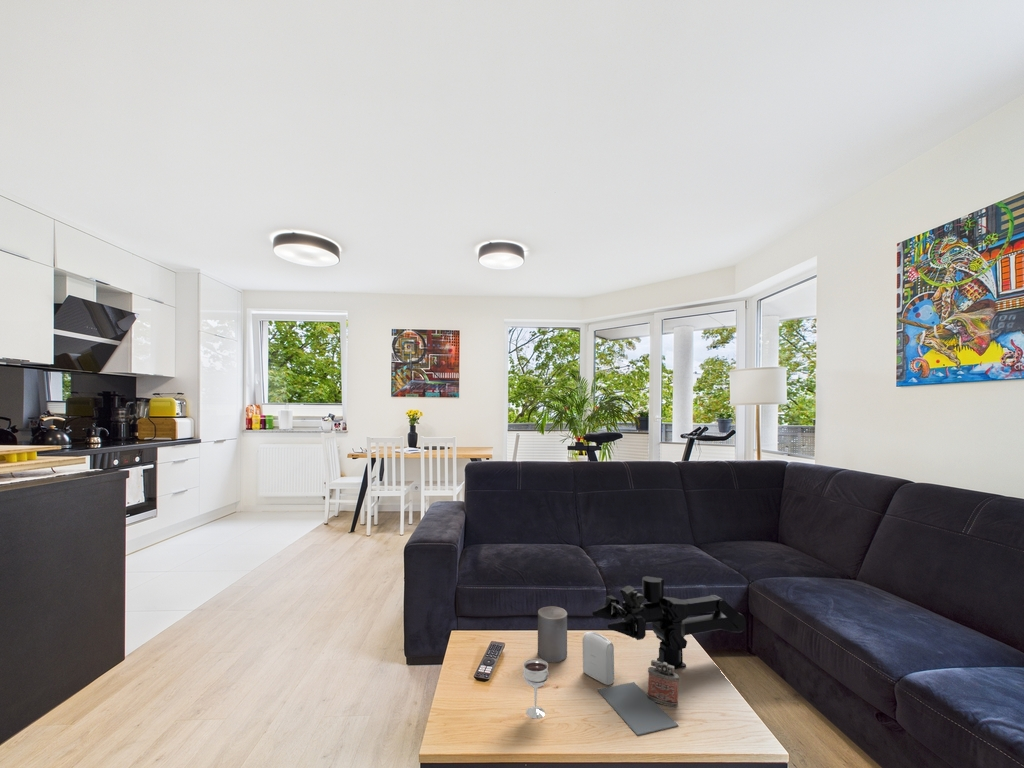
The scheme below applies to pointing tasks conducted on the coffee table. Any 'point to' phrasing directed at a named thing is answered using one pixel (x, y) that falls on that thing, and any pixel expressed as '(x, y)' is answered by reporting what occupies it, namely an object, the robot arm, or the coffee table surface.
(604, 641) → the photo printer
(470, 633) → the coffee table surface
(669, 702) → the lighter
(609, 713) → the coffee table surface
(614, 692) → the rubber mat
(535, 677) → the wineglass
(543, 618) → the pillar candle
